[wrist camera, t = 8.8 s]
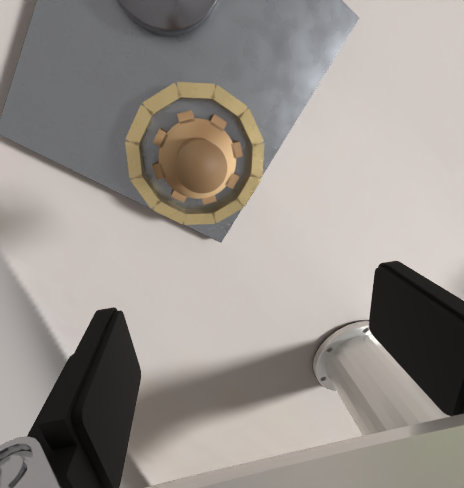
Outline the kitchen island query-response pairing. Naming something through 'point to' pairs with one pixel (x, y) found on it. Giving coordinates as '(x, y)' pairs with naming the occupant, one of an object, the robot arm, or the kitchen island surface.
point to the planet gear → (197, 157)
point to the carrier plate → (137, 66)
